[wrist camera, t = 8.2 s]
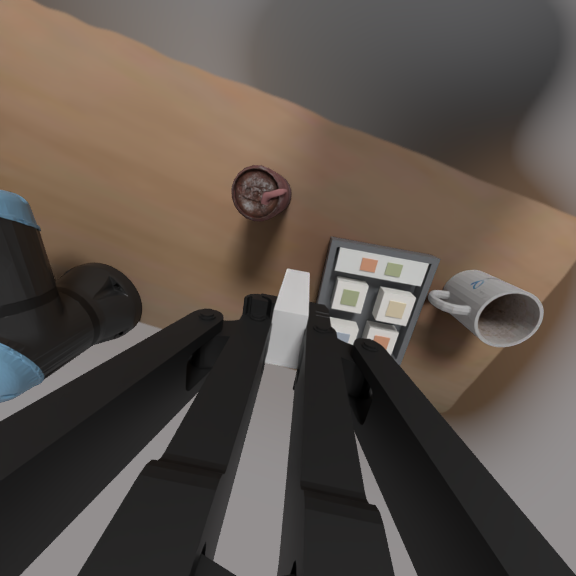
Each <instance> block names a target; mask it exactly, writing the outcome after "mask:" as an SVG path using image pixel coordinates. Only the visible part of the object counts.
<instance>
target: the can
mask: <svg viewBox="0 0 576 576" xmlns="http://www.w3.org/2000/svg"><path fill="white" fill-rule="evenodd" d="M232 199H233V202H234V205H235V207H236V209H237V210H238V211H239V213H240V214H242V215H243V216H244V217H245V218H247V219H250V220H252V221H264V220H268V219H270V218H272V217H274V216H275V215H277V214H279V213H280V212H282V211H283V210H285V209H286V208H287V206H288V205H289V203H290V200H291V188H290V185H289V183H288V182H287V180H286V179H285V178H283V177H282V176H281V175H279V174H278V173H276V172H274V171H273V170H271V169H269V168H267V167H264V166H261V165H252V166H249V167H246V168H244V169H243V170H242V171H241V172H239V173H238V175H237V176H236V178H235V179H234V182H233V185H232Z"/></svg>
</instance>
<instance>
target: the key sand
mask: <svg viewBox="0 0 576 576" xmlns="http://www.w3.org/2000/svg"><path fill="white" fill-rule="evenodd" d="M415 300H416V297H415V296H414V295H413V294H412V293H411V292H408V291H403V290H397V289H392V288H386V287H381V286H380V289H379V292H378V295H377V298H376V302H375V305H374V308H373V311H372V314H373V316H374V318H375V320H377V321H382V322H387V323H392V324H398V325H403V326H406V325H407V322H408V319H409V317H410V314H411V311H412V308H413V306H414V303H415Z"/></svg>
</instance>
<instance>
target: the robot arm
mask: <svg viewBox="0 0 576 576" xmlns="http://www.w3.org/2000/svg"><path fill="white" fill-rule="evenodd" d="M40 231H41V229H40V227H39V226H38V225H37V223H36V221H35V218H34V216H33V213H32V210H31V207H30V205H29V203H28V202H27V201H26V200H25V199H24V198H23V197H21V196H19V195H17V194H15V193H12V192H8V191H4V190H0V403H1V402H5V401H8V400H11V399H13V398H15V397H17V396H19V395H20V394H22V393H24V392H25V391H27V390H29V389H30V388H32V387H34V386H36V385H38V384H40V383H41V382H42V381H43V380H44V379H45V378H47V377H48V376H50V375H51V374H52V373H54V372H55V371H57V370H58V369H60V368H61V367H62V366H64V365H65V364H67V363H68V362H70V361H71V360H73V359H74V358H75V357H76V356H78V355H80V354H81V353H82V352H84V351H85V350H86V349H88V348H90V347H91V346H93V345H95V344H99V343H102V342H105V341H109V340H112V339H116V338H119V337H121V336H123V335H125V334H126V333H127V332H129V331H130V330H131V329H133V328H134V327H135V326H136V325H137V323H138V321H139V319H140V317H141V311H142V305H141V300H140V296H139V294H138V292H137V290H136V288H135V286H134V285H133V283H132V282H131V281H130V280H129V279H128V278H127V277H126V276H125V275H124V274H123V273H121V272H120V271H118V270H117V269H115V268H113V267H111V266H108V265H105V264H101V263H87V264H83V265H80V266H77V267H74V268H72V269H70V270H68V271H67V272H66V273H65V274H64V275H63V276H62V277H61V278H59V279H58V280H57V281H55V279H54V276H53V273H52V270H51V267H50V263H49V260H48V257H47V254H46V250H45V247H44V244H43V241H42V238H41V234H40ZM309 276H310V273H308V272H303V271H297V270H292V269H287V271H286V274H285V277H284V280H283V283H282V286H281V289H280V292H279V295H278V296H273V295H267V294H250V295H247V296H246V297H245V298H244V306H243V314H242V316H241V318H240V320H235V321H223V314H222V313H221V312H218V311H216V310H212V309H201V310H197V311H194V312H192V313H190V314H189V315H187V316H185V317H183V318H182V319H180V320H178V321H176V322H175V323H173V324H171V325H169V326H168V327H166V328H164V329H162V330H161V331H159V332H157V333H155V334H154V335H152V336H150V337H148V338H147V339H145V340H143V341H141V342H139V343H138V344H136V345H134V346H132V347H131V348H129V349H127V350H125V351H124V352H122V353H120V354H118V355H117V356H115V357H113V358H112V359H110V360H108V361H106V362H104V363H102V364H101V365H99V366H97V367H95V368H94V369H92V370H90V371H88V372H87V373H85V374H83V375H81V376H80V377H78V378H76V379H74V380H73V381H71V382H69V383H67V384H66V385H64V386H62V387H60V388H59V389H57V390H55V391H53V392H51V393H50V394H48V395H46V396H44V397H43V398H41V399H39V400H37V401H36V402H34V403H32V404H31V405H29V406H27V407H25V408H23V409H22V410H20V411H18V412H16V413H14V414H13V415H11V416H9V417H7V418H6V419H4V420H2V421H0V576H19V575H20V574H22V573H23V571H24V570H25V569H26V568H27V567H28V566H29V565H30V564H31V563H32V562H33V561H34V560H35V559H36V558H37V557H38V556H39V555H40V554H41V553H42V552H43V551H44V550H45V549H46V548H47V547H48V546H49V545H50V544H51V543H52V542H53V541H54V540H55V539H56V537H58V536H59V535H60V534H61V532H62V531H63V530H64V529H65V528H66V527H67V526H68V525H69V524H70V523H71V522H72V521H73V520H74V519H75V518H76V517H77V516H78V515H79V514H80V513H81V512H82V511H83V510H84V509H85V508H86V507H87V506H88V505H89V504H90V503H91V502H92V500H94V498H95V497H96V496H97V495H98V494H99V493H100V492H101V491H102V490H103V489H104V488H105V487H106V486H107V485H108V484H109V483H110V482H111V481H112V480H113V479H114V478H115V477H116V476H117V475H118V474H119V473H120V472H121V471H122V470H123V469H124V468H125V467H126V466H127V465H128V464H129V463H130V462H131V461H132V459H133V458H134V457H135V456H136V455H137V454H138V453H139V452H140V451H141V450H142V449H143V448H144V447H145V446H146V445H147V444H148V443H149V442H150V441H151V440H152V439H153V438H154V437H155V436H156V435H157V434H158V433H159V432H160V431H161V430H162V429H163V428H164V427H165V425H167V424H168V422H169V421H170V420H171V419H172V418H173V417H174V416H175V415H176V414H177V413H178V412H179V411H180V410H181V409H182V408H183V407H184V406H185V405H186V404H187V403H188V402H189V401H190V400H191V399H192V398H193V397H194V396H195V394H197V393H198V394H197V396H196V398H195V399H194V401H193V403H192V405H191V406H190V408H189V410H188V412H187V414H186V415H185V417H184V419H183V421H182V423H181V424H180V426H179V428H178V429H177V431H176V433H175V435H174V437H173V438H172V440H171V442H170V444H169V445H168V447H167V449H166V451H165V453H164V454H163V455H162V457H161V458H160V459H159V460H151V461H150V462H149V463H147V464H146V466H145V467H144V468H143V470H142V471H141V473H140V474H139V476H138V477H137V479H136V480H135V482H134V484H133V485H132V487H131V489H130V490H129V492H128V494H127V495H126V497H125V498H124V500H123V502H122V503H121V505H120V507H119V509H118V510H117V512H116V513H115V515H114V517H113V518H112V520H111V521H110V523H109V525H108V526H107V528H106V530H105V531H104V533H103V534H102V536H101V538H100V539H99V541H98V543H97V544H96V546H95V548H94V549H93V551H92V553H91V554H90V556H89V557H88V559H87V561H86V563H85V564H84V566H83V567H82V569H81V570H80V572H79V574H78V575H77V576H236V575H234V574H233V573H231V572H229V571H228V570H226V569H225V568H223V567H222V566H220V565H219V564H217V563H215V562H214V561H213V559H214V555H215V551H216V546H217V542H218V539H219V535H220V531H221V528H222V524H223V520H224V516H225V513H226V509H227V505H228V501H229V498H230V494H231V490H232V486H233V483H234V479H235V475H236V471H237V467H238V464H239V460H240V456H241V453H242V449H243V445H244V441H245V438H246V434H247V430H248V426H249V423H250V419H251V415H252V412H253V408H254V404H255V400H256V397H257V392H258V389H259V385H260V381H261V377H262V374H263V370H264V365H265V363H269V364H274V365H279V366H284V367H289V368H294V369H297V372H296V377H295V381H294V386H293V390H294V401H293V412H292V423H291V434H290V446H289V456H288V467H287V479H286V490H285V501H284V513H283V523H282V535H281V546H280V556H279V565H278V573H277V576H395V575H394V571H393V566H392V562H391V557H390V552H389V548H388V543H387V538H386V534H385V529H384V525H383V521H382V518H381V515H380V512H379V510H378V508H377V507H376V505H372V504H369V503H368V501H367V499H366V495H365V491H364V485H363V479H362V473H361V468H360V462H359V456H358V451H357V445H356V440H355V434H356V436H357V438H358V441H359V443H360V445H361V447H362V450H363V452H364V454H365V457H366V459H367V461H368V463H369V466H370V468H371V470H372V472H373V475H374V477H375V479H376V481H377V484H378V486H379V488H380V491H381V493H382V495H383V497H384V500H385V502H386V504H387V507H388V508H389V511H390V513H391V516H392V518H393V520H394V523H395V525H396V527H397V529H398V532H399V534H400V536H401V538H402V541H403V543H404V545H405V547H406V550H407V552H408V554H409V556H410V559H411V561H412V563H413V566H414V568H415V570H416V573H417V575H418V576H576V575H575V574H574V573H573V571H572V570H571V569H570V568H569V567H568V566H567V564H566V563H565V562H564V561H563V559H562V558H561V557H560V556H559V555H558V553H557V552H556V551H555V550H554V549H553V548H552V546H551V545H550V544H549V543H548V542H547V540H546V539H545V538H544V537H543V536H542V534H541V533H540V532H539V531H538V530H537V529H536V527H535V526H534V525H533V524H532V523H531V522H530V520H529V519H528V518H527V517H526V515H525V514H524V513H523V512H522V511H521V510H520V508H519V507H518V506H517V505H516V504H515V502H514V501H513V500H512V499H511V498H510V496H509V495H508V494H507V493H506V492H505V491H504V490H503V488H502V487H501V486H500V485H499V483H498V482H497V481H496V480H495V479H494V478H493V476H492V475H491V474H490V473H489V472H488V470H487V469H486V468H485V467H484V466H483V464H482V463H481V462H480V461H479V460H478V458H476V456H475V455H474V454H473V453H472V451H471V450H470V449H469V448H468V447H467V446H466V444H465V443H464V442H463V441H462V439H461V438H460V437H459V436H458V435H457V434H456V432H455V431H454V430H453V429H452V428H451V426H450V425H449V424H448V423H447V422H446V420H445V419H444V418H443V417H442V416H441V415H440V413H439V412H438V411H437V410H436V409H435V407H434V406H433V405H432V404H431V403H430V401H429V400H428V399H427V398H426V397H425V396H424V394H423V393H422V392H421V391H420V390H419V388H418V387H417V386H416V385H415V384H414V382H413V381H412V380H411V379H410V378H409V376H408V375H407V374H406V373H405V372H404V371H403V369H402V368H401V367H400V366H399V365H398V363H397V362H396V361H395V360H394V359H393V357H392V356H391V355H390V354H389V353H388V352H387V350H386V349H385V348H384V347H383V346H382V345H381V344H379V343H377V342H376V341H374V340H371V339H365V338H358V339H356V340H355V341H354V343H353V345H351V344H349V343H346V342H344V341H342V340H340V339H338V338H337V332H336V331H335V329H334V328H333V327H331V322H330V315H329V309H328V308H327V307H326V306H325V305H323V304H318V303H313V302H309ZM297 366H298V368H297ZM354 432H355V434H354Z"/></svg>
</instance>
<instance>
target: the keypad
mask: <svg viewBox="0 0 576 576" xmlns="http://www.w3.org/2000/svg"><path fill="white" fill-rule="evenodd" d="M439 262H440V259H439V258H437V257H435V256H433V255H429V254H424V253H418V252H413V251H407V250H402V249H397V248H391V247H386V246H380V245H375V244H369V243H364V242H358V241H353V240H348V239H342V238H337V237H331V238H330V243H329V247H328V252H327V256H326V261H325V265H324V270H323V274H322V279H321V283H320V287H319V292H318V296H317V301H316V303H318V304H323V305H325V306H326V307H327V308H328V309H329V315H330V317H333V318H338V319H344V320H349V321H354V322H356V323H357V326H358V329H359V331H358V334H357V337H356V339H358V338H362V335H363V331H364V328H365V325H366V321H373V322H378V323H383V324H388V325H394V326H395V328H396V329H397V331H398V333H399V335H398V337H397V340H396V343H395V346H394V348H393V351H392V354H391V356H392V357H393V359H394V360H395V361H396V362H397V363H398V365H400V364H401V362H402V359H403V356H404V354H405V351H406V349H407V346H408V343H409V341H410V338H411V335H412V333H413V330H414V327H415V325H416V322H417V320H418V317H419V314H420V312H421V309H422V306H423V304H424V301H425V298H426V296H427V293H428V291H429V288H430V285H431V283H432V280H433V277H434V275H435V272H436V269H437V267H438V264H439ZM337 276H341V277H346V278H352V279H357V280H362V281H366V283H367V284H368V286H369V287H368V291H367V294H366V298H365V301H364V304H363V308H362V311H361V314H359V313H353V312H348V311H343V310H338V309H332V308H331V303H330V302H331V297H332V293H333V289H334V285H335V281H336V277H337ZM380 286H381V287H386V288H392V289H397V290H403V291H408V292H411V293H412V294H413V295H414V296H415V297H416V300H415V303H414V306H413V308H412V311H411V314H410V317H409V319H408V322H407V325H406V326H403V325H398V324H392V323H387V322H382V321H377V320H375V318H374V316H373V314H372V311H373V308H374V305H375V302H376V298H377V295H378V292H379V289H380Z"/></svg>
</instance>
